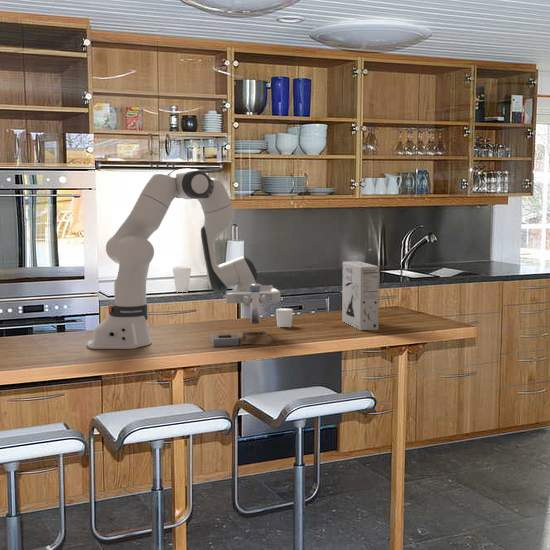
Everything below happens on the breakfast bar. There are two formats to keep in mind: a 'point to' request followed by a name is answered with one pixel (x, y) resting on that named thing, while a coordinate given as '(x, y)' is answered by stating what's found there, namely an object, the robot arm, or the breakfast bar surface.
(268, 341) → the rack
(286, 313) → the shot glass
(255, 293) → the drill rod
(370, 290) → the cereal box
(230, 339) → the socket
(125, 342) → the robot arm
